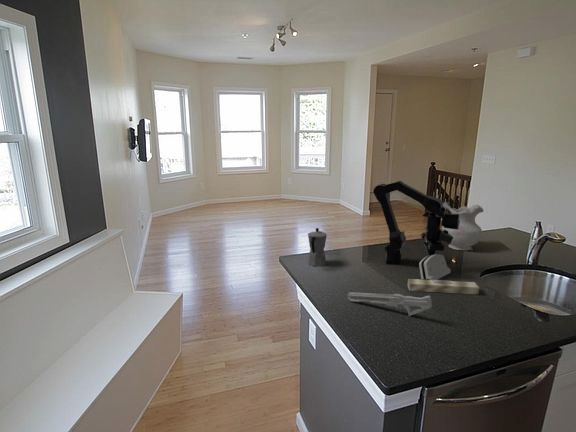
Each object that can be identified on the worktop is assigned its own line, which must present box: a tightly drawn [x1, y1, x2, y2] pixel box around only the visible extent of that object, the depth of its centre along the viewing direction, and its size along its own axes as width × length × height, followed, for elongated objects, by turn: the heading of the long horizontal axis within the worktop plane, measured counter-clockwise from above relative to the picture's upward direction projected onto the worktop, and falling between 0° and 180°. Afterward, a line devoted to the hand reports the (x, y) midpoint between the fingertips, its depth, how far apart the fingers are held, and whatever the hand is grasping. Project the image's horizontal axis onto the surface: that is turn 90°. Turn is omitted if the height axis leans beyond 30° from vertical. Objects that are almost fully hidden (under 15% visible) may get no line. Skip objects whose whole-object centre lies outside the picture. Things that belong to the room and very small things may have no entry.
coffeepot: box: [307, 227, 328, 267], centre depth 171 cm, size 15×9×18 cm, turn 160°
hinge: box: [418, 253, 452, 280], centre depth 157 cm, size 17×5×10 cm, turn 129°
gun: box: [347, 291, 433, 317], centre depth 128 cm, size 2×30×8 cm, turn 59°
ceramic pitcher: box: [441, 201, 484, 252], centre depth 191 cm, size 22×20×25 cm
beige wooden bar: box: [407, 278, 480, 295], centre depth 143 cm, size 26×5×3 cm, turn 81°
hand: (430, 258), depth 163 cm, fingers closed
